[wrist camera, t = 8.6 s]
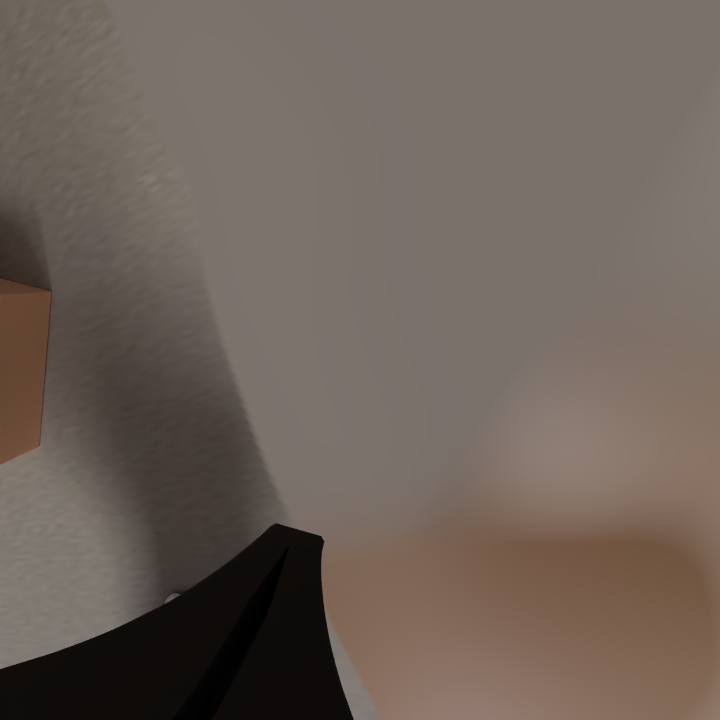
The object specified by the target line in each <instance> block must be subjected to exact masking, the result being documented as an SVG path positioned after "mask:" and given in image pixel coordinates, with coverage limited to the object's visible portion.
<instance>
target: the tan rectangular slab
mask: <svg viewBox="0 0 720 720" xmlns="http://www.w3.org/2000/svg"><path fill="white" fill-rule="evenodd" d="M50 304H51V291H47V290H43V289H40V288H36V287H32V286H28V285H25V284H21V283H17V282H13V281H9V280H6V279H2V278H0V464H2V463H5V462H7V461H9V460H11V459H13V458H15V457H17V456H19V455H21V454H23V453H26V452H28V451H30V450H32V449H34V448H36V447H38V446H39V443H40V431H41V418H42V405H43V393H44V380H45V367H46V355H47V342H48V329H49V317H50Z"/></svg>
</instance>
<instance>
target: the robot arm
mask: <svg viewBox="0 0 720 720" xmlns="http://www.w3.org/2000/svg"><path fill="white" fill-rule="evenodd" d="M323 545H324V540H323V539H322V537H321V536H319V535H315V534H312V533H308V532H305V531H301V530H298V529H294V528H291V527H287V526H284V525H280V524H277V523H276V524H274V525H272V526H270V527H269V528H268V529H267V530H266V531H265V532H264V533H263V534H262V535H261V536H260V537H258V538H257V539H256V540H255V541H254V542H253V543H252V544H250V545H249V546H248V547H247V548H246V549H244V550H243V551H242V552H241V553H239V554H238V555H237V556H235V557H234V558H233V559H232V560H230V561H229V562H228V563H226V564H225V565H224V566H222V567H221V568H220V569H218V570H217V571H215V572H214V573H212V574H211V575H210V576H208V577H207V578H205V579H204V580H202V581H201V582H199V583H198V584H196V585H195V586H193V587H192V588H190V589H189V590H187V591H185V592H184V593H182V594H178V593H173V594H171V595H169V596H168V598H167V599H166V601H165V603H164V604H163V605H162V606H160V607H158V608H156V609H154V610H152V611H150V612H148V613H146V614H144V615H142V616H140V617H138V618H136V619H134V620H132V621H130V622H128V623H126V624H124V625H122V626H120V627H118V628H116V629H113V630H111V631H109V632H106V633H104V634H101V635H99V636H97V637H94V638H92V639H89V640H87V641H84V642H81V643H79V644H76V645H73V646H71V647H68V648H65V649H62V650H60V651H57V652H54V653H51V654H48V655H45V656H42V657H38V658H35V659H32V660H29V661H25V662H22V663H19V664H16V665H12V666H9V667H6V668H3V669H0V720H354V719H353V716H352V714H351V711H350V708H349V705H348V702H347V700H346V697H345V694H344V691H343V688H342V685H341V682H340V678H339V675H338V671H337V668H336V664H335V660H334V656H333V652H332V648H331V644H330V639H329V634H328V629H327V623H326V617H325V611H324V603H323V593H322V581H321V556H322V549H323Z"/></svg>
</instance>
